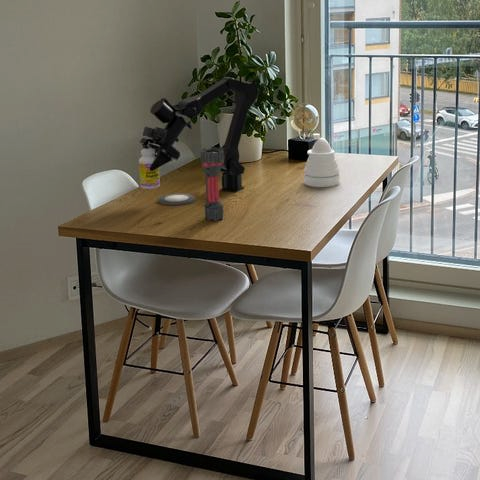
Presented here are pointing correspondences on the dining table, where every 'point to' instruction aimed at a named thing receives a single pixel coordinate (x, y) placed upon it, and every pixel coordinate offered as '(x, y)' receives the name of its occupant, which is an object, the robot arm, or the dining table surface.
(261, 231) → the dining table surface
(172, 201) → the dock pad
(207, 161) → the flashlight
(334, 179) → the honey pot
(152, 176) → the supplement bottle
